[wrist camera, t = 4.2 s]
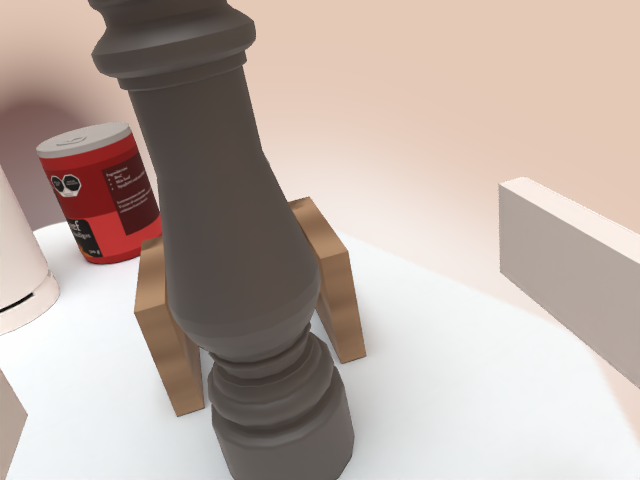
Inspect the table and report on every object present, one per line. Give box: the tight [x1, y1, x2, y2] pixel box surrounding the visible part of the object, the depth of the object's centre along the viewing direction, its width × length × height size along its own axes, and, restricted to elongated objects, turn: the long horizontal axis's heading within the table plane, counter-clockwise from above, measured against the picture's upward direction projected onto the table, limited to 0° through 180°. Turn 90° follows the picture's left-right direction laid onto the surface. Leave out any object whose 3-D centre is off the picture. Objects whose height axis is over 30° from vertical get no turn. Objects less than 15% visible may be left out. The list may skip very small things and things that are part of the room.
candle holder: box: [88, 0, 354, 480], centre depth 20 cm, size 6×6×25 cm
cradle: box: [134, 197, 366, 416], centre depth 31 cm, size 8×11×7 cm
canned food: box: [36, 122, 162, 264], centre depth 48 cm, size 8×8×11 cm
